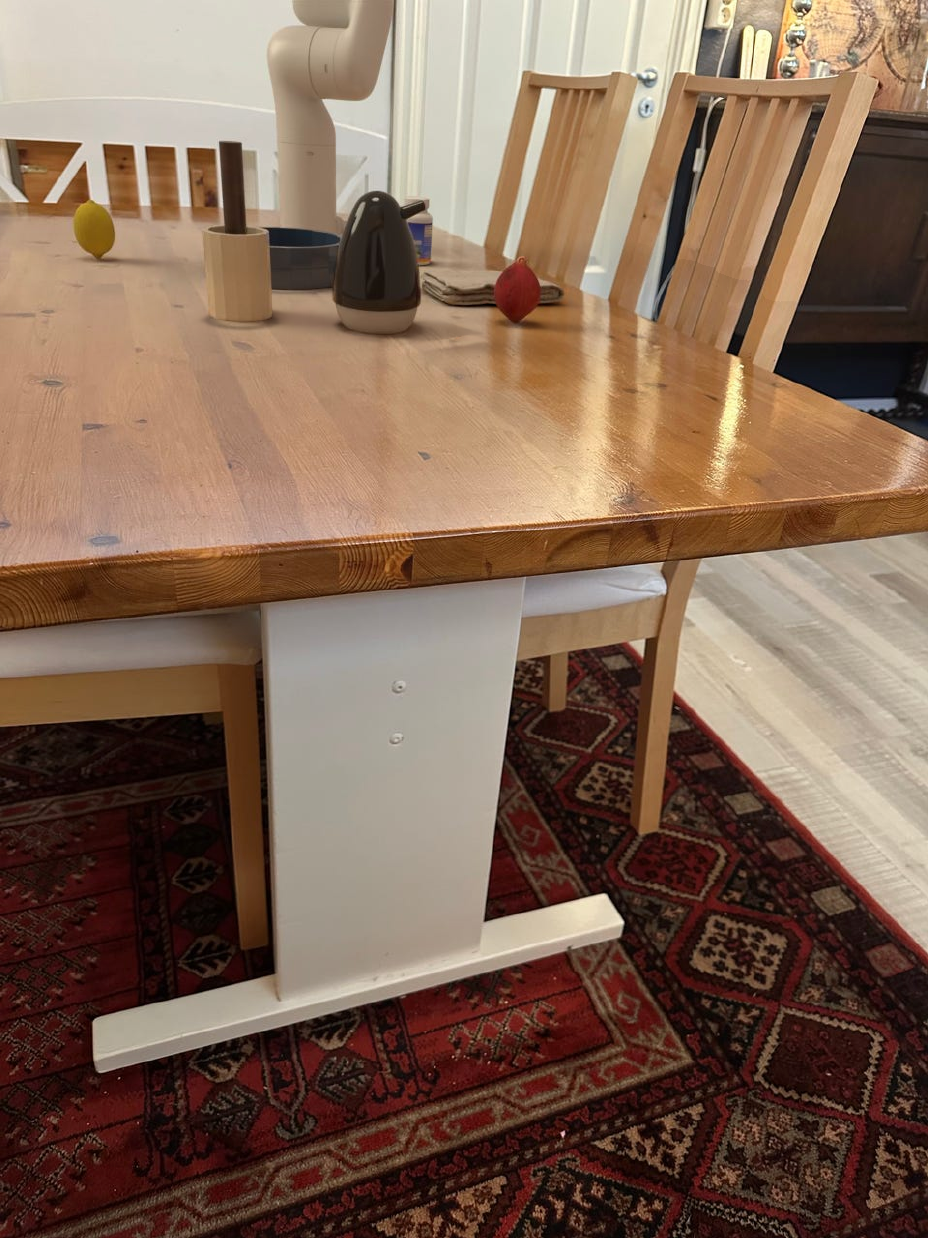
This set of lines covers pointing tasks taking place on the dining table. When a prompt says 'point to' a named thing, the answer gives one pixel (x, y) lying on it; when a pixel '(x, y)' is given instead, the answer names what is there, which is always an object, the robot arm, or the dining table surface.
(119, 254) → the dining table surface
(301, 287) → the bowl
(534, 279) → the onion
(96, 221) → the lemon
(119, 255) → the dining table surface
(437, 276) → the washcloth
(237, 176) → the stick
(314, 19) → the robot arm
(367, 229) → the pump dispenser
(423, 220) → the pill bottle
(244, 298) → the crock
